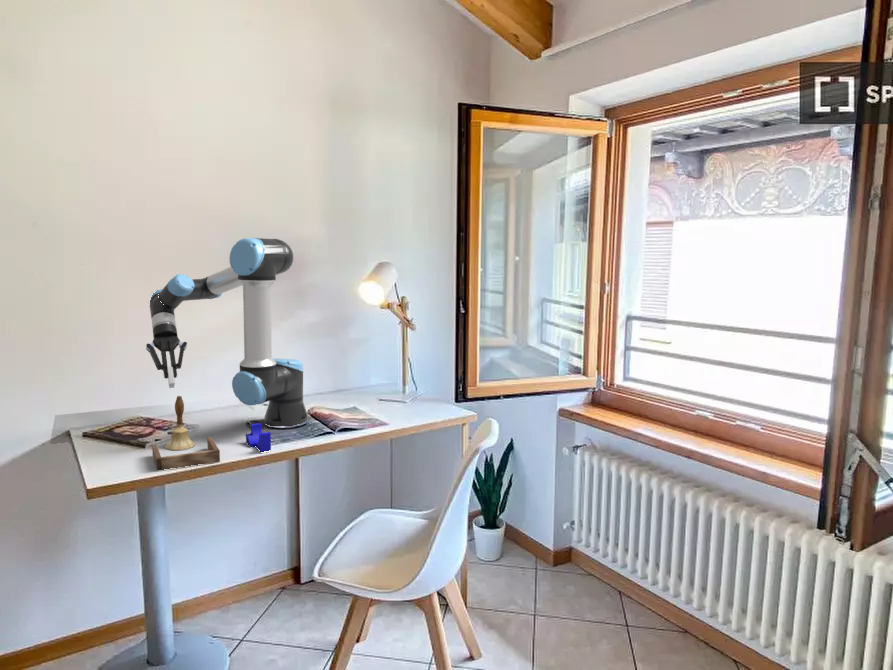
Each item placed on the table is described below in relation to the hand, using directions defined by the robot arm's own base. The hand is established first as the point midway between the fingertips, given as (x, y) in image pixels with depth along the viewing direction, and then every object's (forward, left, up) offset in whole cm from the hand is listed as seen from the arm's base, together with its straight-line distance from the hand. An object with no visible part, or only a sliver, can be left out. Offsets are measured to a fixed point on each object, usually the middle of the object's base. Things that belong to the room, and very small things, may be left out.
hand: (171, 385), depth 193 cm
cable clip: (-21, +27, -16) cm, 38 cm away
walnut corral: (0, +28, -16) cm, 32 cm away
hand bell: (0, +16, -16) cm, 23 cm away
